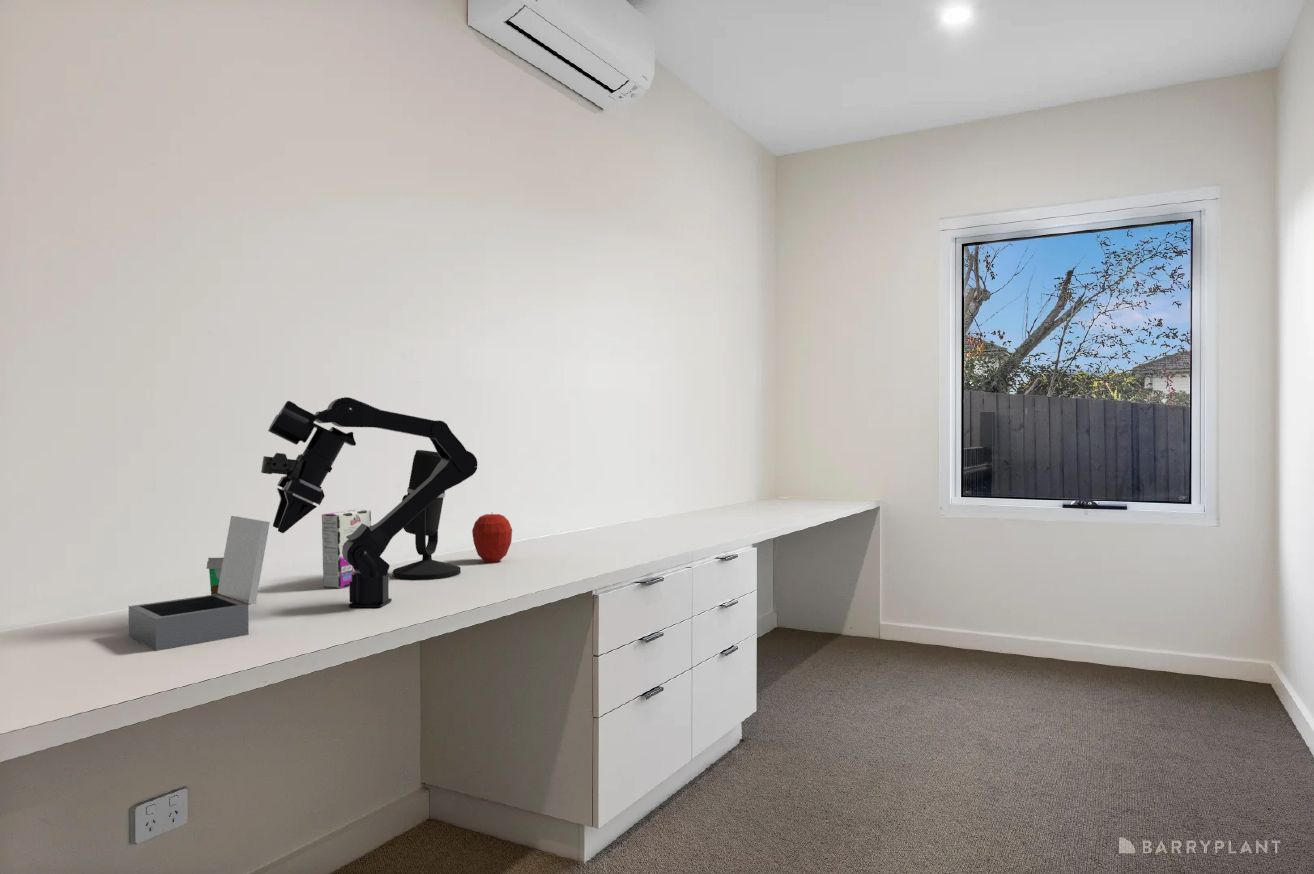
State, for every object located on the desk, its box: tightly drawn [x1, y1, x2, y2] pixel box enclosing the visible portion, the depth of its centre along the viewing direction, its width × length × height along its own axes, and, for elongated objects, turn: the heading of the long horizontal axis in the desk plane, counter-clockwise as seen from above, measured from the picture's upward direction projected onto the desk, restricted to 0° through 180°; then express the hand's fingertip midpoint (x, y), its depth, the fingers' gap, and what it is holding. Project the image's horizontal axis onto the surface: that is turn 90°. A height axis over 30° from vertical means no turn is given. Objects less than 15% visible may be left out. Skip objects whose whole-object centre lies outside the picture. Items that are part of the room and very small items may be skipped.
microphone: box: [392, 449, 462, 581], centre depth 199 cm, size 16×16×30 cm
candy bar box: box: [321, 508, 372, 589], centre depth 186 cm, size 11×5×16 cm, turn 161°
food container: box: [206, 557, 251, 606], centre depth 165 cm, size 12×6×10 cm, turn 168°
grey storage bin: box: [128, 594, 250, 652], centre depth 139 cm, size 14×14×5 cm
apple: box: [471, 513, 513, 564], centre depth 218 cm, size 10×10×14 cm
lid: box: [217, 515, 271, 605], centre depth 146 cm, size 14×14×3 cm
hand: (277, 529), depth 155 cm, fingers open, 9 cm apart
